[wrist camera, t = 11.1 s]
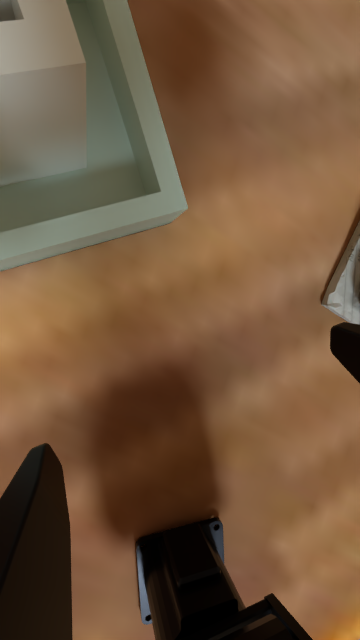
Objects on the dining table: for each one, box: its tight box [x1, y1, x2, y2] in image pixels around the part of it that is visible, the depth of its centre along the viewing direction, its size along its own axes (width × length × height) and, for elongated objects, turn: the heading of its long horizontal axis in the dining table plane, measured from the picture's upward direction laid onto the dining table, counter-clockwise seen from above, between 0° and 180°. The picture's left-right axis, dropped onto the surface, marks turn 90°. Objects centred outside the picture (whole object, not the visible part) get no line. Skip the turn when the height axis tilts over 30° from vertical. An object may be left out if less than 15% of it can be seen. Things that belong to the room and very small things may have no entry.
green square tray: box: [0, 0, 188, 271], centre depth 16 cm, size 14×14×4 cm
